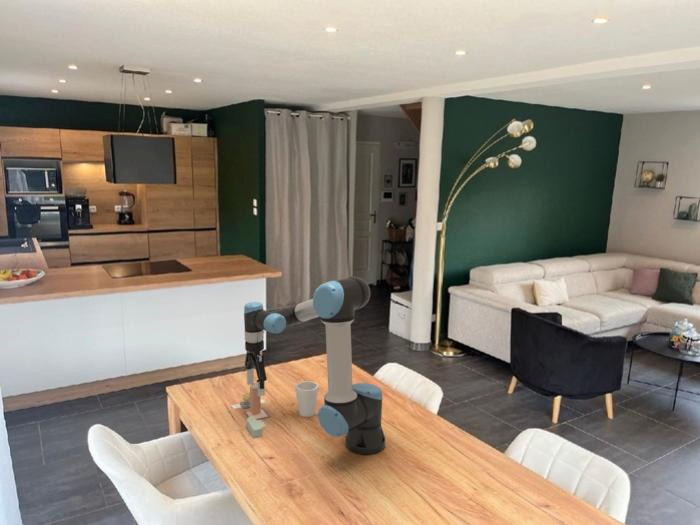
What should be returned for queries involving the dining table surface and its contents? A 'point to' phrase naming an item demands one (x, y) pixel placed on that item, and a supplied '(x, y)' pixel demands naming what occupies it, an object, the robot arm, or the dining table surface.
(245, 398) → the button
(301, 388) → the foam cup
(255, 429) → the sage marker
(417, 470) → the dining table surface
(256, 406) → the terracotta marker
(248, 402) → the white flat panel
